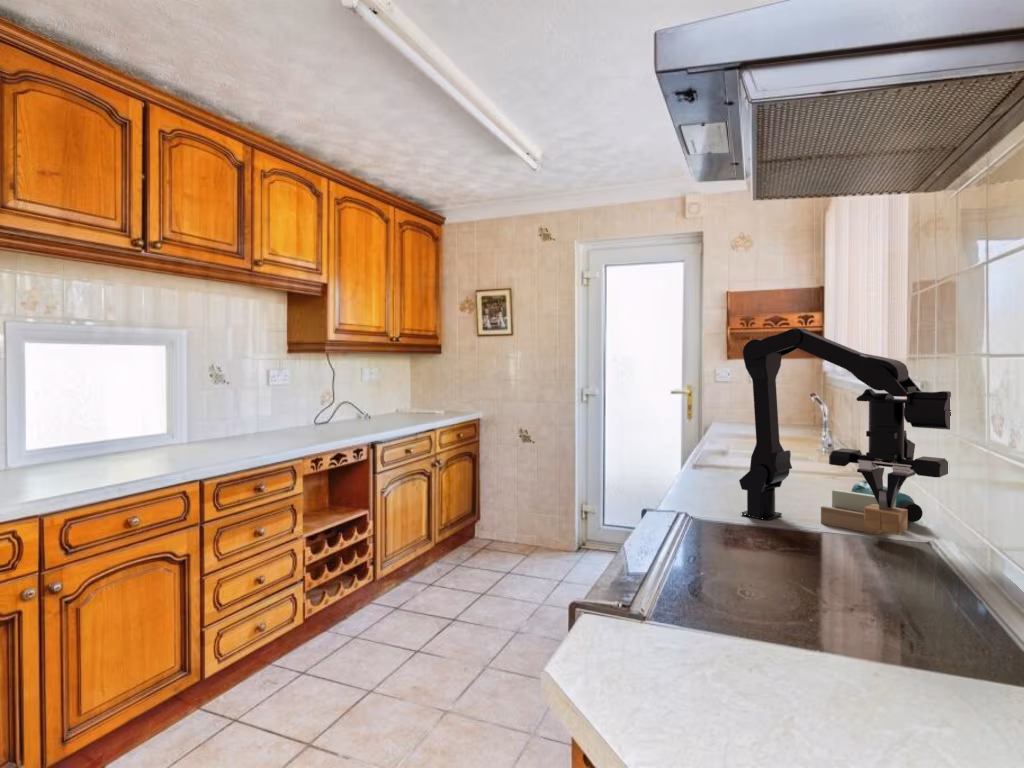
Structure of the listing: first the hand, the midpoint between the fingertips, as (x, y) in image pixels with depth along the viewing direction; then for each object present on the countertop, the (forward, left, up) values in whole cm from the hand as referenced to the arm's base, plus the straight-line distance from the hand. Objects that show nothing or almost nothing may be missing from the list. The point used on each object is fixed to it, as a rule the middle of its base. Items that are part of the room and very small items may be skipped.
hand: (885, 506), depth 112 cm
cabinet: (0, 0, -4) cm, 4 cm away
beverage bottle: (+26, +15, -4) cm, 30 cm away
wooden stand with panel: (+7, +8, -7) cm, 13 cm away
